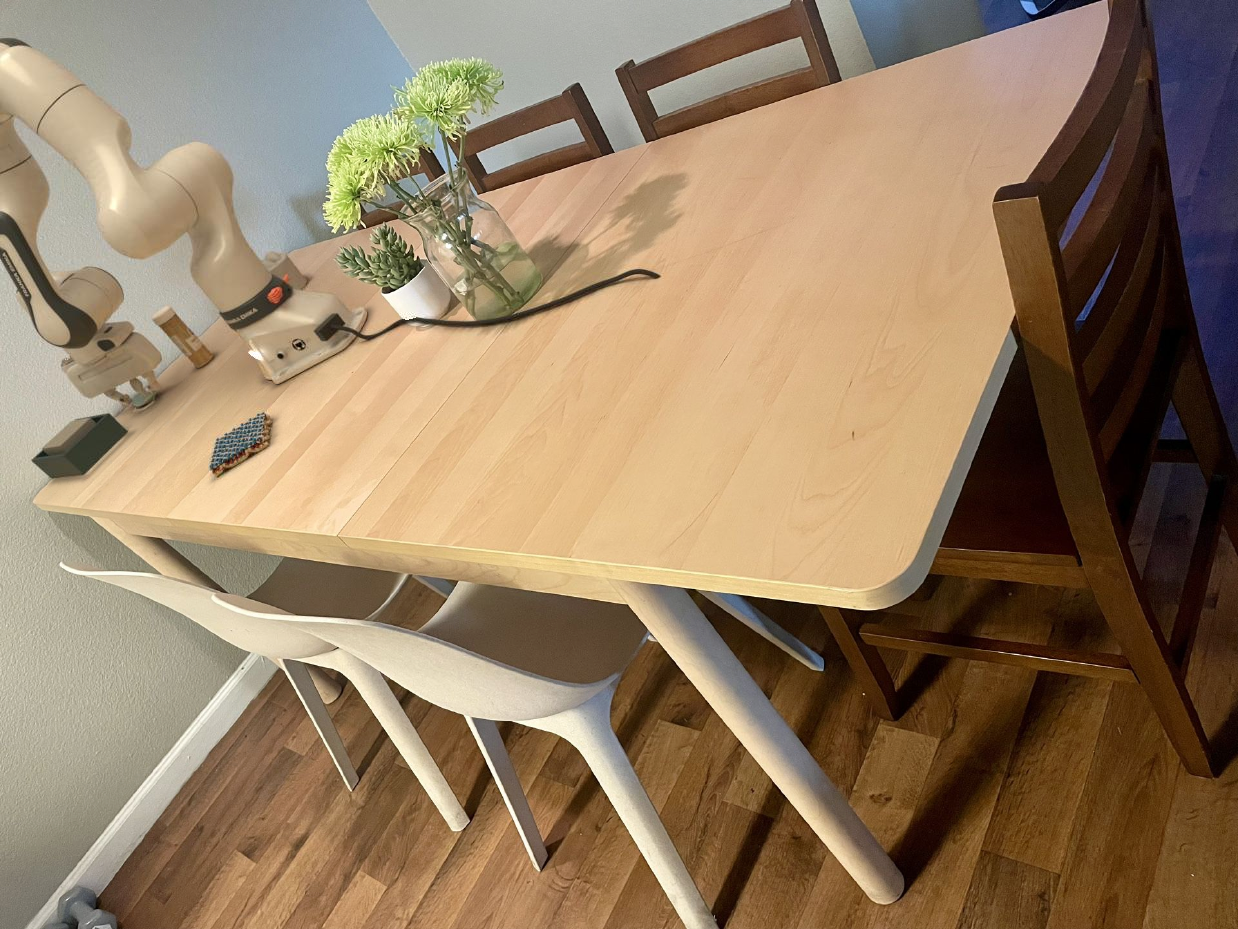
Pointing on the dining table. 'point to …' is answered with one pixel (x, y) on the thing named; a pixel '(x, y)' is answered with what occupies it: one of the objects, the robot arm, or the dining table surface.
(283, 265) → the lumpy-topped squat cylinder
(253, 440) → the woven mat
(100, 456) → the crate
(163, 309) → the sprinkles bottle
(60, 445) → the block
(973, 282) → the dining table surface
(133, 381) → the pacifier
